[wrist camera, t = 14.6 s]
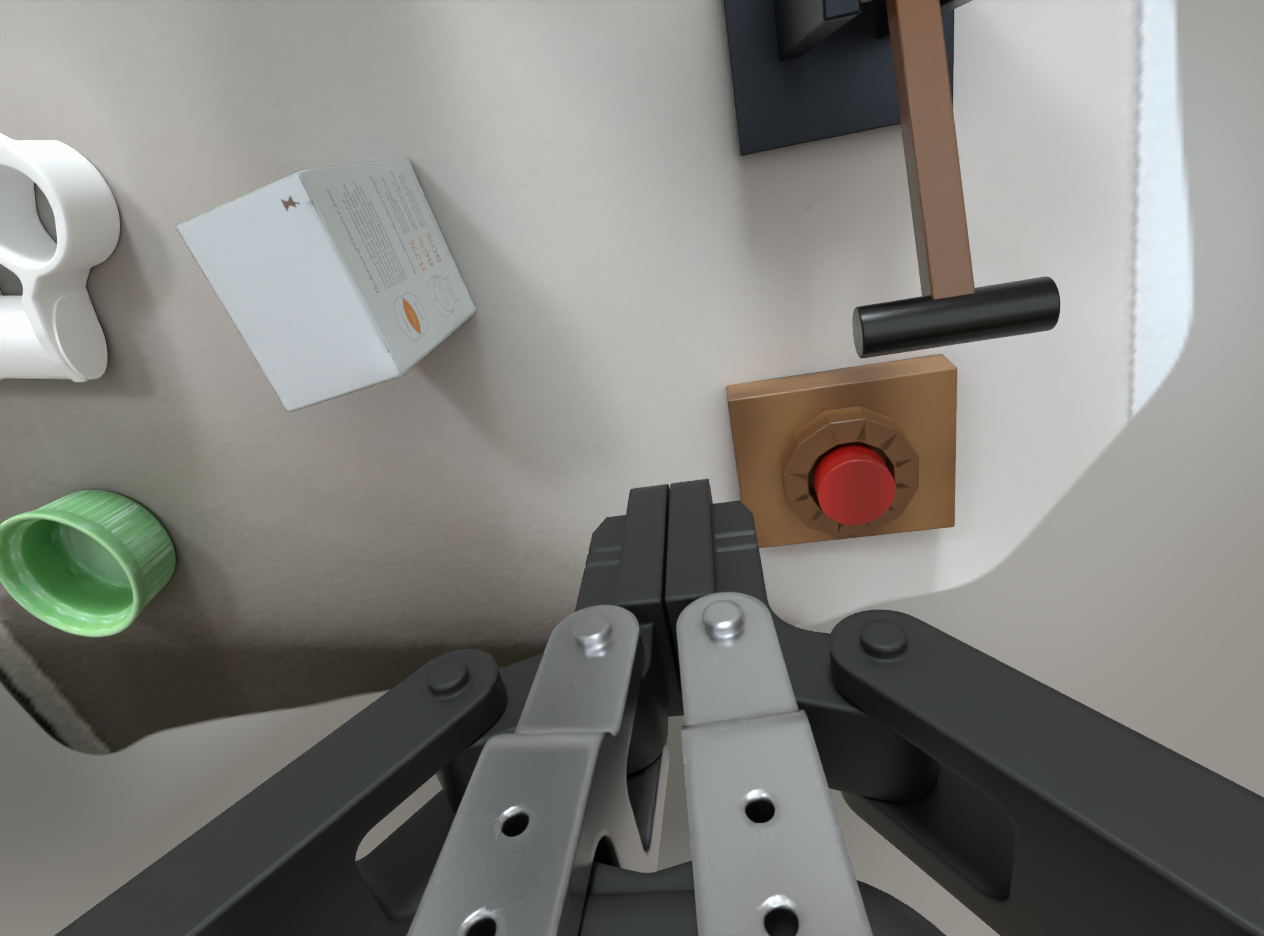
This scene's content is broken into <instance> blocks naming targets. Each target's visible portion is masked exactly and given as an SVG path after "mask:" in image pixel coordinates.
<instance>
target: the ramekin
mask: <svg viewBox="0 0 1264 936" xmlns="http://www.w3.org/2000/svg"><path fill="white" fill-rule="evenodd" d="M175 564H176V556H175V550H174V546H173V543H172V541H171V539H170V537H169V535H168V533H167V532H166V530H165V529H164V527H163V526H162V525H161V523H160V522H159V521H158V520H157V519H156V518H155V517H154V516H153V515H152V514H151V513H150V512H149V511H148V510H147V509H145V508H144V507H143V506H141V505H140V504H138V503H136V502H135V501H133V500H131V499H129V498H127V497H124V496H122V495H119V494H117V493H113V492H110V491H105V490H97V489H90V490H81V491H77V492H73V493H71V494H68V495H66V496H64V497H62V498H60V499H58V500H55V501H53V502H51V503H49V504H47V505H45V506H43V507H40V508H38V509H36V510H34V511H28V512H25V513H21V514H18V515H16V516H13V517H11V518H9V519H7V520H6V521H4V522H3V523H2V524H1V525H0V582H1V583H2V585H3V586H4V588H5V589H6V590H7V592H8V593H9V594H10V595H11V596H12V597H13V598H14V599H15V600H16V601H17V602H18V603H19V604H20V605H21V606H22V607H23V608H25V609H26V610H27V611H28V612H30V613H31V614H32V615H34V616H35V617H37V618H38V619H40V620H42V621H44V622H45V623H47V624H49V625H51V626H53V627H55V628H58V629H60V630H63V631H66V632H68V633H72V634H75V635H80V636H87V637H105V636H111V635H114V634H117V633H119V632H121V631H123V630H125V629H126V628H128V627H129V626H130V625H131V624H132V623H133V622H134V621H135V620H136V618H137V617H138V616H139V614H140V613H141V611H142V609H143V608H144V607H145V606H146V605H147V604H148V603H149V602H150V601H151V600H152V599H153V598H154V597H155V596H156V595H157V594H158V593H159V592H160V590H161V589H162V588H163V587H164V586H165V585H166V584H167V583H168V581H169V580H170V579H171V577H172V575H173V573H174V569H175Z"/></svg>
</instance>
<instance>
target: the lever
mask: <svg viewBox="0 0 1264 936" xmlns="http://www.w3.org/2000/svg"><path fill="white" fill-rule="evenodd" d="M867 1H872V0H861V3H863V2H867ZM886 6H887V14H888V22H889V31H890V39H891V47H892V55H893V63H894V71H895V79H896V87H897V95H898V104H899V112H900V120H901V128H902V136H903V144H904V152H905V160H906V168H907V177H908V185H909V193H910V201H911V209H912V217H913V225H914V233H915V241H916V250H917V258H918V266H919V274H920V282H921V290H922V297H915V298H909V299H903V300H897V301H891V302H884V303H878V304H872V305H866V306H860V307H856V308H855V309H854V312H853V336H854V342H855V347H856V351H857V354H858V356H859V357H860V358H868V357H874V356H881V355H888V354H894V353H901V352H908V351H915V350H921V349H928V348H935V347H941V346H948V345H955V344H961V343H968V342H975V341H982V340H988V339H995V338H1002V337H1008V336H1015V335H1022V334H1029V333H1035V332H1042V331H1048V330H1051V329H1053V328H1054V327H1055V325H1056V324H1057V321H1058V318H1059V314H1060V296H1059V291H1058V288H1057V286H1056V284H1055V282H1054V281H1053V279H1051V278H1050V277H1040V278H1033V279H1027V280H1021V281H1015V282H1009V283H1002V284H996V285H990V286H984V287H978V288H974V280H973V272H972V264H971V255H970V247H969V239H968V231H967V222H966V214H965V206H964V198H963V189H962V181H961V173H960V165H959V157H958V148H957V140H956V132H955V124H954V115H953V107H952V99H951V91H950V82H949V74H948V66H947V58H946V49H945V41H944V33H943V25H942V16H941V8H940V0H886Z"/></svg>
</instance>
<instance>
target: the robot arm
mask: <svg viewBox="0 0 1264 936" xmlns="http://www.w3.org/2000/svg"><path fill="white" fill-rule="evenodd" d="M682 715H684V717H685V726H682V747H683V758H684V770H685V782H686V794H687V806H688V818H689V828H690V829H689V830H690V841H691V853H692V861H689V862H686V863H683V864H679V865H676V866H673V867H670V868H666V869H663V870H660V871H657V862H658V853H659V844H660V836H661V827H662V819H663V810H664V801H665V792H666V783H667V775H668V766H669V753H668V748H667V744H666V742H667V736H668V717H669V716H682ZM435 774H437V777H438V779H439V781H440V784H441V786H442V788H443V789H442V790H441V791H440V792H439V793H438V794H436V795H435V796H434V797H433V798H432V799H431V800H430V801H429V802H427V803H426V804H425V805H424V806H423V807H422V808H421V809H419V810H418V811H417V812H416V813H415V814H414V815H413V816H412V817H410V818H409V819H408V820H407V821H406V822H405V823H404V824H402V825H401V826H400V827H399V828H398V829H397V830H396V831H395V832H393V833H392V834H391V835H390V836H389V837H388V838H387V839H385V840H384V841H383V842H382V843H381V844H380V845H378V846H377V847H376V848H375V849H374V850H373V851H372V852H371V853H369V854H368V855H367V856H365V857H364V858H362V859H360V860H358V861H355V856H356V852H357V849H358V846H359V844H360V843H361V841H362V839H363V838H364V836H365V835H366V834H367V833H368V832H369V830H371V829H372V828H373V827H374V826H375V825H376V824H377V823H378V822H380V821H381V820H382V819H383V818H384V817H385V816H387V815H388V814H389V813H390V812H391V811H392V810H393V809H395V808H396V807H397V806H398V805H399V804H401V803H402V802H403V801H404V800H405V799H406V798H408V797H409V796H410V795H411V794H412V793H413V792H415V791H416V790H417V789H418V788H419V787H421V785H423V784H424V783H425V782H426V781H428V779H430V778H431V777H432V776H433V775H435ZM829 788H831V789H835V790H839V791H841V793H842V796H843V797H844V800H845V802H846V803H847V804H848V806H849V807H850V808H851V809H852V810H853V811H854V812H855V813H856V814H857V815H858V816H859V817H860V818H862V819H863V820H864V821H865V822H866V823H867V824H869V825H870V826H871V827H872V828H874V829H875V830H876V831H877V832H878V833H879V834H881V835H882V836H883V837H884V838H885V839H886V840H888V841H889V842H890V843H891V844H893V845H894V846H895V847H896V848H897V849H898V850H900V851H901V852H902V853H903V854H904V855H905V856H907V857H908V858H909V859H910V860H911V861H913V862H914V863H915V864H916V865H917V866H918V867H920V868H921V869H922V870H923V871H924V872H926V873H927V874H928V875H929V876H930V877H932V878H933V879H934V880H935V881H936V882H938V883H939V884H940V885H941V886H942V887H943V888H945V889H946V890H947V891H948V892H949V893H951V894H952V895H953V896H954V897H955V898H956V899H958V900H959V901H960V902H961V903H962V904H964V905H965V906H966V907H967V908H968V909H969V910H971V911H972V912H973V913H974V914H975V915H977V916H978V917H979V918H980V919H981V920H983V921H984V922H985V923H986V924H987V925H988V926H990V927H991V928H992V929H993V930H994V931H996V932H997V933H998V934H999V935H1000V936H1264V798H1263V797H1262V796H1260V795H1258V794H1256V793H1254V792H1252V791H1250V790H1248V789H1246V788H1244V787H1242V786H1240V785H1238V784H1236V783H1235V782H1233V781H1230V780H1229V779H1227V778H1225V777H1223V776H1221V775H1219V774H1217V773H1215V772H1213V771H1211V770H1209V769H1208V768H1205V767H1203V766H1202V765H1200V764H1198V763H1196V762H1194V761H1192V760H1190V759H1188V758H1186V757H1184V756H1182V755H1180V754H1178V753H1176V752H1175V751H1172V750H1171V749H1169V748H1166V747H1165V746H1163V745H1161V744H1159V743H1157V742H1155V741H1153V740H1151V739H1149V738H1147V737H1145V736H1144V735H1142V734H1140V733H1138V732H1136V731H1134V730H1132V729H1130V728H1128V727H1126V726H1124V725H1122V724H1120V723H1119V722H1117V721H1114V720H1113V719H1111V718H1109V717H1107V716H1105V715H1103V714H1101V713H1099V712H1097V711H1095V710H1093V709H1091V708H1089V707H1087V706H1086V705H1084V704H1082V703H1080V702H1078V701H1076V700H1074V699H1072V698H1070V697H1068V696H1066V695H1064V694H1062V693H1060V692H1059V691H1057V690H1055V689H1053V688H1051V687H1049V686H1047V685H1045V684H1043V683H1041V682H1039V681H1037V680H1035V679H1033V678H1031V677H1030V676H1028V675H1026V674H1024V673H1022V672H1020V671H1018V670H1016V669H1014V668H1012V667H1010V666H1008V665H1006V664H1004V663H1002V662H1000V661H998V660H997V659H995V658H993V657H991V656H989V655H987V654H985V653H983V652H981V651H979V650H977V649H975V648H973V647H971V646H969V645H968V644H966V643H964V642H962V641H960V640H958V639H956V638H954V637H952V636H950V635H948V634H946V633H944V632H942V631H940V630H939V629H937V628H935V627H933V626H931V625H929V624H927V623H925V622H923V621H921V620H919V619H917V618H915V617H913V616H910V615H908V614H905V613H901V612H897V611H891V610H868V611H862V612H858V613H855V614H853V615H850V616H848V617H846V618H844V619H843V620H841V621H840V622H839V623H838V624H837V625H836V626H835V627H834V629H833V630H832V632H831V634H828V633H820V632H813V631H808V630H804V629H800V628H797V627H795V626H792V625H790V624H788V623H786V622H785V621H783V620H781V619H780V618H779V617H778V616H777V615H776V614H775V613H774V612H773V611H772V610H771V608H770V606H769V604H768V600H767V595H766V589H765V583H764V577H763V571H762V565H761V559H760V553H759V547H758V541H757V535H756V528H755V522H754V516H753V513H752V512H751V511H750V510H749V509H747V508H746V507H745V506H744V505H743V504H742V503H741V502H740V501H733V502H725V503H717V504H713V502H712V496H711V489H710V484H709V479H702V480H695V481H687V482H679V483H672V484H671V485H670V488H669V485H668V484H665V485H657V486H650V487H642V488H635V489H631V490H630V493H629V500H628V506H627V513H626V515H622V516H614V517H607V518H606V519H605V520H604V521H603V522H602V523H601V524H600V526H599V527H598V528H597V529H596V530H595V531H594V533H593V534H592V538H591V543H590V547H589V554H588V556H587V560H586V568H585V569H584V574H583V578H582V583H581V587H580V591H579V596H578V600H577V605H576V609H575V612H574V613H572V614H571V615H569V616H567V617H566V618H565V619H563V620H562V621H561V622H560V623H559V624H558V625H557V626H556V627H555V629H554V630H553V631H552V633H551V635H550V638H549V640H548V643H547V646H546V649H545V651H544V652H543V653H541V654H539V655H537V656H535V657H532V658H530V659H527V660H524V661H521V662H518V663H515V664H512V665H509V666H506V667H503V668H501V669H498V667H497V664H496V661H495V659H494V658H493V657H492V656H491V655H490V654H489V653H487V652H485V651H482V650H478V649H460V650H455V651H452V652H448V653H445V654H443V655H441V656H438V657H437V658H435V659H433V660H431V661H430V662H428V663H427V664H425V665H424V666H422V667H421V668H420V669H418V670H417V671H416V672H414V673H413V674H411V675H410V676H409V677H407V678H406V679H405V680H403V681H402V682H400V683H399V684H398V685H396V686H395V687H394V688H392V689H391V690H390V691H388V692H387V693H385V694H384V695H383V696H381V697H380V698H379V699H377V700H376V701H375V702H373V703H372V704H370V705H369V706H368V707H366V708H365V709H364V710H362V711H361V712H359V713H358V714H357V715H355V716H354V717H353V718H351V719H350V720H349V721H347V722H346V723H344V724H343V725H342V726H340V727H339V728H338V729H336V730H335V731H334V732H332V733H331V734H329V735H328V736H327V737H326V738H324V739H323V740H321V741H320V742H319V743H317V744H316V745H314V746H313V747H312V748H310V749H309V750H308V751H306V752H305V753H303V754H302V755H301V756H299V757H298V758H297V759H296V760H294V761H293V762H291V763H290V764H288V765H287V766H286V767H284V768H283V769H282V770H280V771H279V772H278V773H276V774H275V775H273V776H272V777H271V778H269V779H268V780H267V781H265V782H264V783H262V784H261V785H260V786H258V787H257V788H256V789H254V790H253V791H252V792H250V793H249V794H247V795H246V796H245V797H243V798H242V799H241V800H239V801H238V802H236V803H235V804H234V805H233V806H231V807H230V808H228V809H227V810H226V811H224V812H223V813H221V814H220V815H219V816H217V817H216V818H215V819H213V820H212V821H211V822H209V823H208V824H206V825H205V826H204V827H202V828H201V829H200V830H198V831H197V832H196V833H194V834H193V835H192V836H190V837H189V838H187V839H186V840H185V841H183V842H182V843H180V844H179V845H178V846H177V847H175V848H174V849H172V850H171V851H170V852H168V853H167V854H165V855H164V856H163V857H161V858H160V859H159V860H157V861H156V862H155V863H153V864H152V865H150V866H149V867H148V868H146V869H145V870H144V871H142V872H141V873H139V874H138V875H137V876H135V877H134V878H133V879H131V880H130V881H129V882H127V883H126V884H125V885H123V886H122V887H120V888H119V889H118V890H116V891H115V892H114V893H112V894H111V895H109V896H108V897H107V898H105V899H104V900H103V901H101V902H100V903H99V904H97V905H96V906H94V907H93V908H92V909H90V910H89V911H88V912H86V913H85V914H83V915H82V916H81V917H79V918H78V919H77V920H75V921H74V922H73V923H71V924H70V925H68V926H67V927H66V928H64V929H63V930H62V931H60V932H59V933H58V934H56V935H55V936H946V935H945V934H943V933H942V932H941V931H940V930H939V929H938V928H937V927H936V926H935V925H933V924H932V923H931V922H929V921H928V920H927V919H926V918H924V917H923V916H922V915H920V914H919V913H918V912H916V911H915V910H914V909H912V908H911V907H909V906H908V905H906V904H904V903H903V902H901V901H899V900H898V899H896V898H894V897H893V896H891V895H890V894H888V893H885V892H883V891H881V890H879V889H877V888H875V887H873V886H871V885H869V884H866V883H864V882H861V881H858V880H856V877H855V874H854V870H853V867H852V864H851V860H850V857H849V854H848V850H847V848H846V844H845V841H844V837H843V834H842V831H841V827H840V824H839V820H838V817H837V814H836V810H835V807H834V804H833V801H832V797H831V794H830V790H829Z"/></svg>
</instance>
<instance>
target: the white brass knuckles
mask: <svg viewBox="0 0 1264 936" xmlns="http://www.w3.org/2000/svg"><path fill="white" fill-rule="evenodd" d="M34 182H35V183H36V184H37V185H38V187H39V188H40V189H41V190H42V191H43V193H44V194H45V196H46V197H47V199H48V201H49V203H50V205H51V207H52V210H53V213H54V217H55V223H56V232H57V243H56V242H55V241H54V240H53V239H52V238H51V237H50V236H49V235H48V233H47V232H46V231H45V229H44V227H43V226H42V224H41V222H40V220H39V217H38V214H37V209H36V202H35V193H34ZM119 235H120V217H119V212H118V208H117V204H116V201H115V199H114V196H113V194H112V192H111V190H110V188H109V186H108V185H107V183H106V181H105V180H104V178H103V177H102V176H101V174H100V173H99V172H98V171H97V169H96V168H95V167H94V166H93V165H92V164H91V163H90V162H89V161H88V160H87V159H86V158H85V157H83V156H82V155H81V154H80V153H78V152H77V151H76V150H74V149H73V148H71V147H69V146H67V145H66V144H64V143H61V142H59V141H56V140H31V141H15V140H13V139H11V138H9V137H7V136H5V135H3V134H2V133H0V264H1V265H3V266H4V267H6V268H7V269H9V270H11V271H12V272H14V273H15V274H16V275H17V276H18V278H19V279H20V281H21V283H22V285H23V295H22V296H3V295H2V293H1V291H0V380H1V379H4V378H18V379H72V380H73V381H74V382H85V381H88V380H90V379H98V378H100V377H101V376H102V375H103V374H104V372H105V370H106V367H107V346H106V341H105V337H104V334H103V331H102V328H101V326H100V324H99V322H98V319H97V316H96V313H95V310H94V308H93V305H92V302H91V300H90V297H89V294H88V292H87V289H86V282H87V279H88V275H89V272H90V268H91V267H93V266H96V265H98V264H100V263H102V262H103V261H105V260H106V259H107V258H108V257H109V256H110V255H111V254H112V252H113V251H114V249H115V248H116V245H117V243H118V239H119Z"/></svg>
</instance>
